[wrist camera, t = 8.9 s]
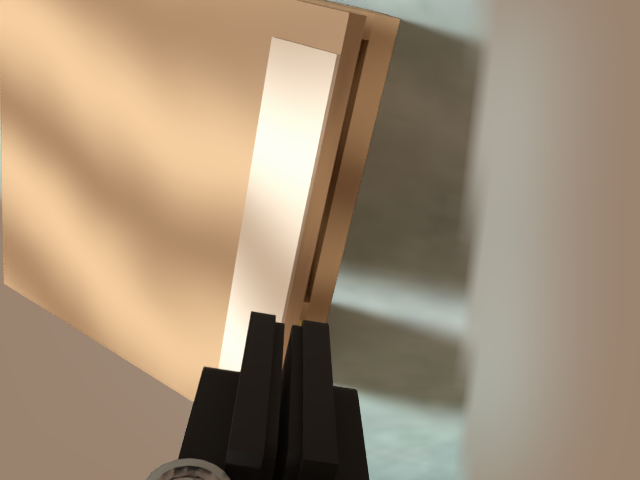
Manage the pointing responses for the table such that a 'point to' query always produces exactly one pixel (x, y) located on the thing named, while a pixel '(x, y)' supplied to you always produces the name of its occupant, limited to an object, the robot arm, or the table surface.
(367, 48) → the box
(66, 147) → the lid
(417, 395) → the table surface
